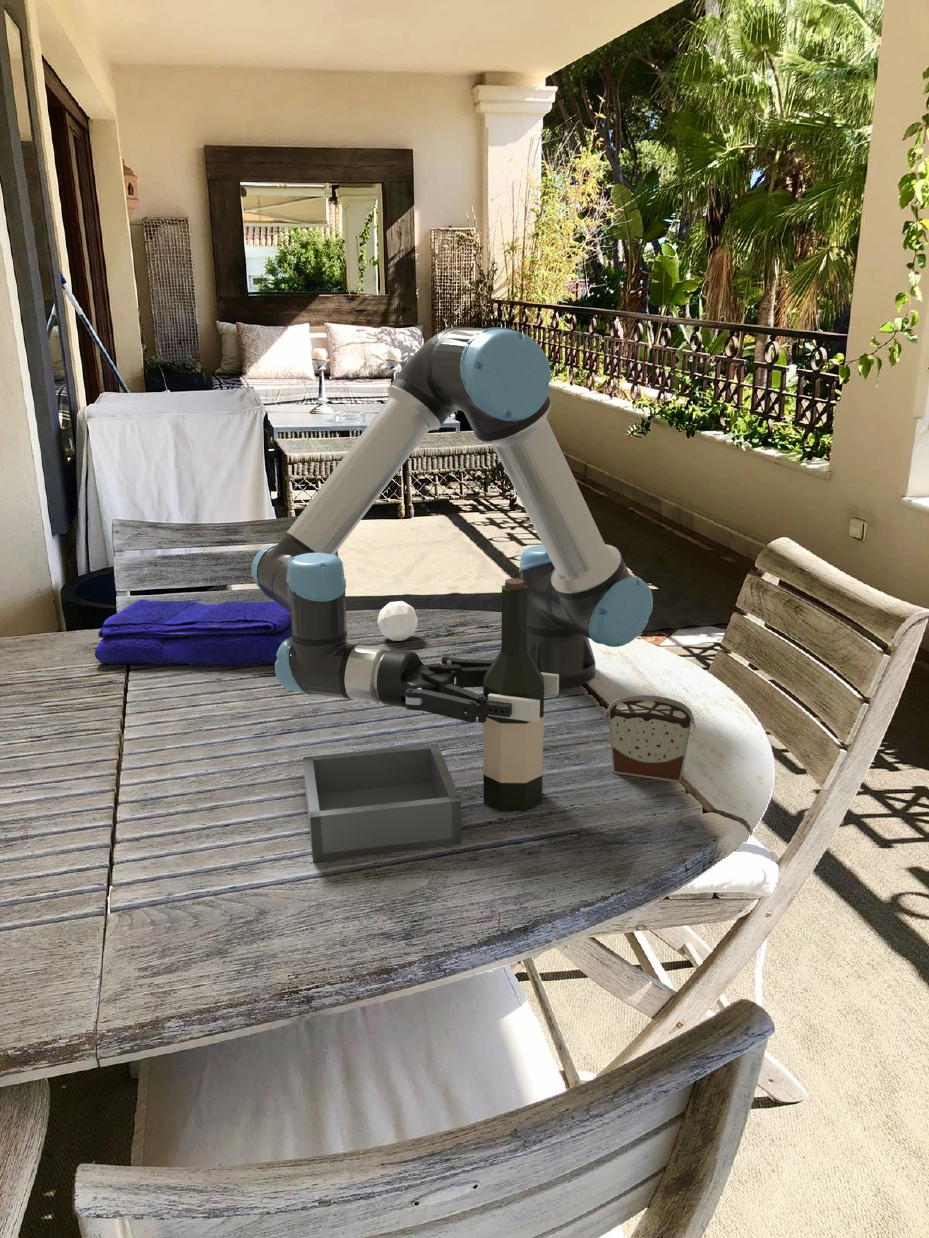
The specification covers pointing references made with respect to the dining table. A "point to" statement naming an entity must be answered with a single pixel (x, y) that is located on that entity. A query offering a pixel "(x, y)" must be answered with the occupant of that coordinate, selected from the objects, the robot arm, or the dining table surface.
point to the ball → (397, 621)
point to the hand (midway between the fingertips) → (548, 697)
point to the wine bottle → (511, 741)
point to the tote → (380, 802)
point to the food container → (649, 736)
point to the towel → (194, 633)
